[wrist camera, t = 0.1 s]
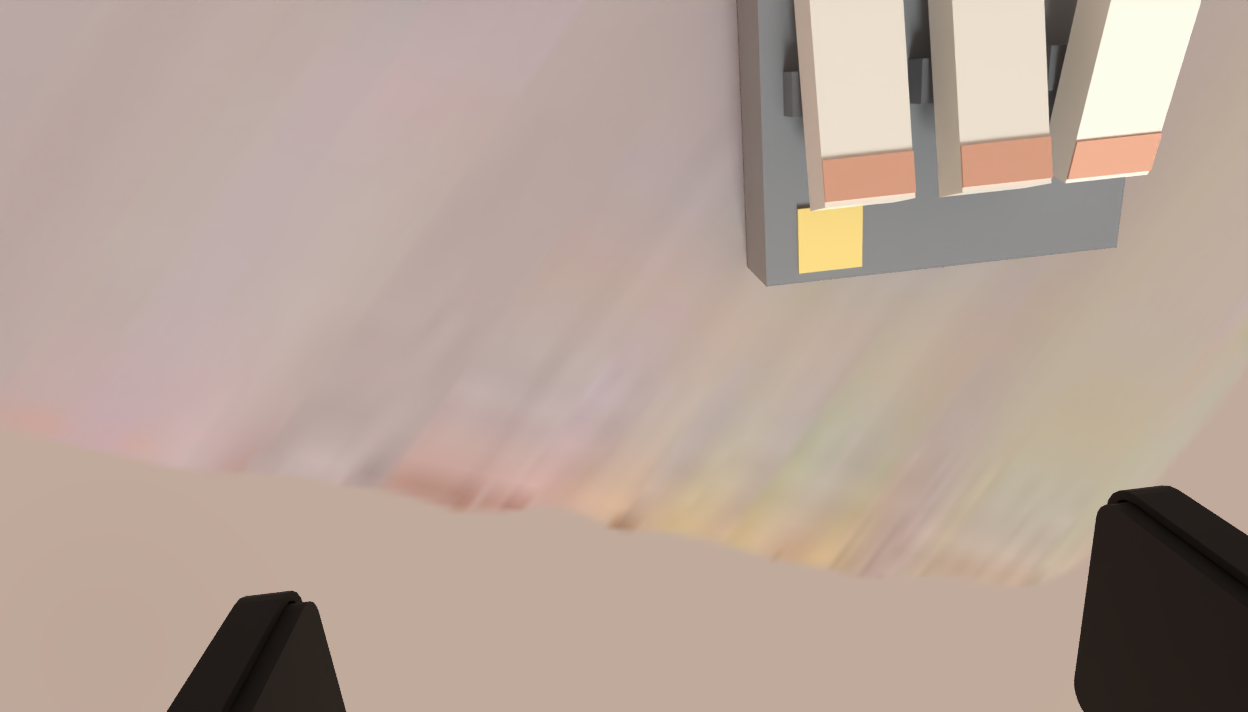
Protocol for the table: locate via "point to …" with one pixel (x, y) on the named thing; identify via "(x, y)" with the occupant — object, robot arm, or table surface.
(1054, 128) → the block
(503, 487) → the table surface
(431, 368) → the table surface
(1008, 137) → the rocker
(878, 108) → the rocker
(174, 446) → the table surface
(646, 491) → the table surface
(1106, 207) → the switch unit
